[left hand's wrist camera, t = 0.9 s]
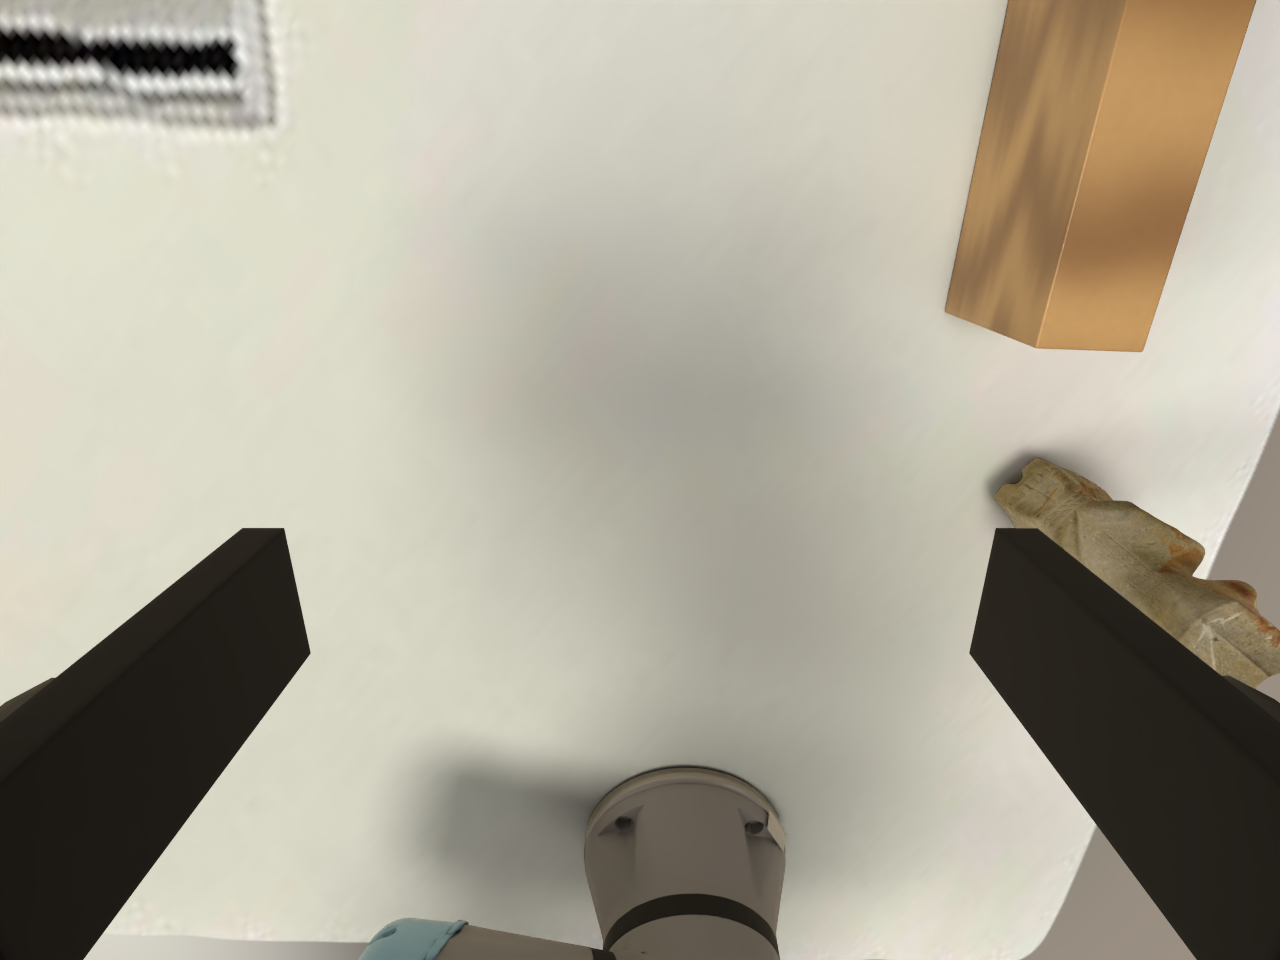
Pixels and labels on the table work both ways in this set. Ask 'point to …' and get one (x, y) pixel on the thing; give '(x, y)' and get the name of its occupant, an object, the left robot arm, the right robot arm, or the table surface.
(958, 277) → the bar
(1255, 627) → the sculpture
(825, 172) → the table surface
